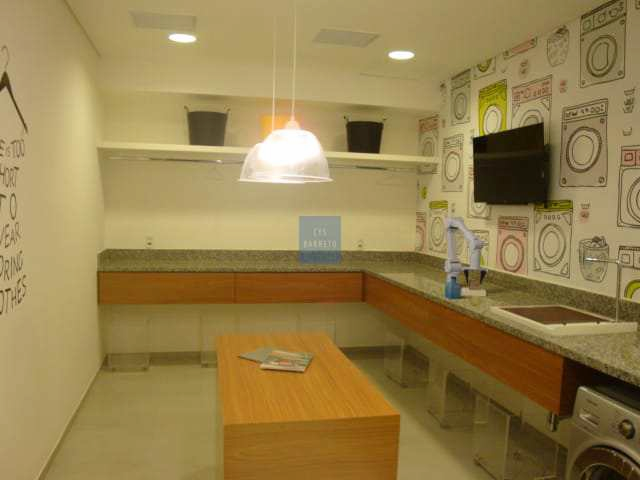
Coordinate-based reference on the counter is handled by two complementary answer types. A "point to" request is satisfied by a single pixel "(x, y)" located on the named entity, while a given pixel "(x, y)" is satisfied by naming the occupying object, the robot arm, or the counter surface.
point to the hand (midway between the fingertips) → (474, 283)
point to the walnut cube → (473, 285)
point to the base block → (474, 292)
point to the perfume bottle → (453, 289)
